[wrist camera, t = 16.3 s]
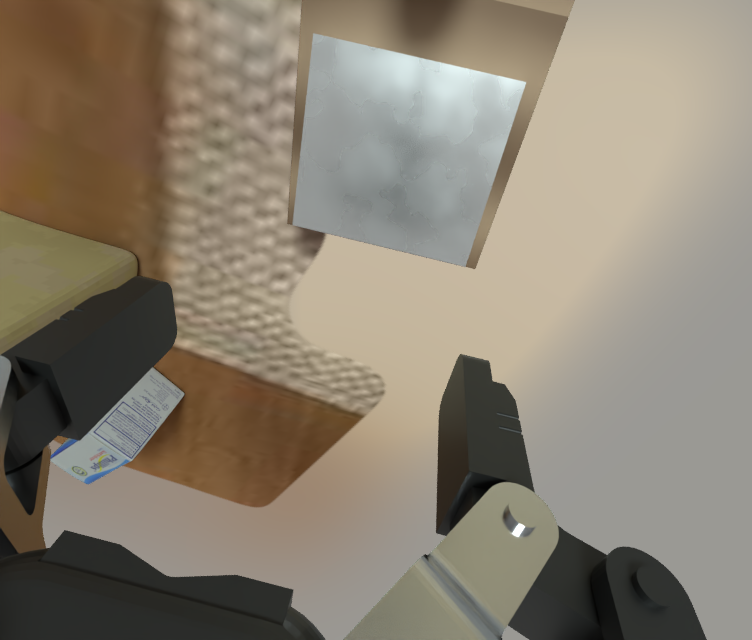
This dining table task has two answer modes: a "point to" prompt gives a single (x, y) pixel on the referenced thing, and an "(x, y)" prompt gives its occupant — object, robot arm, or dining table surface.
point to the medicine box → (120, 430)
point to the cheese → (51, 275)
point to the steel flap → (400, 148)
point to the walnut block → (444, 56)
